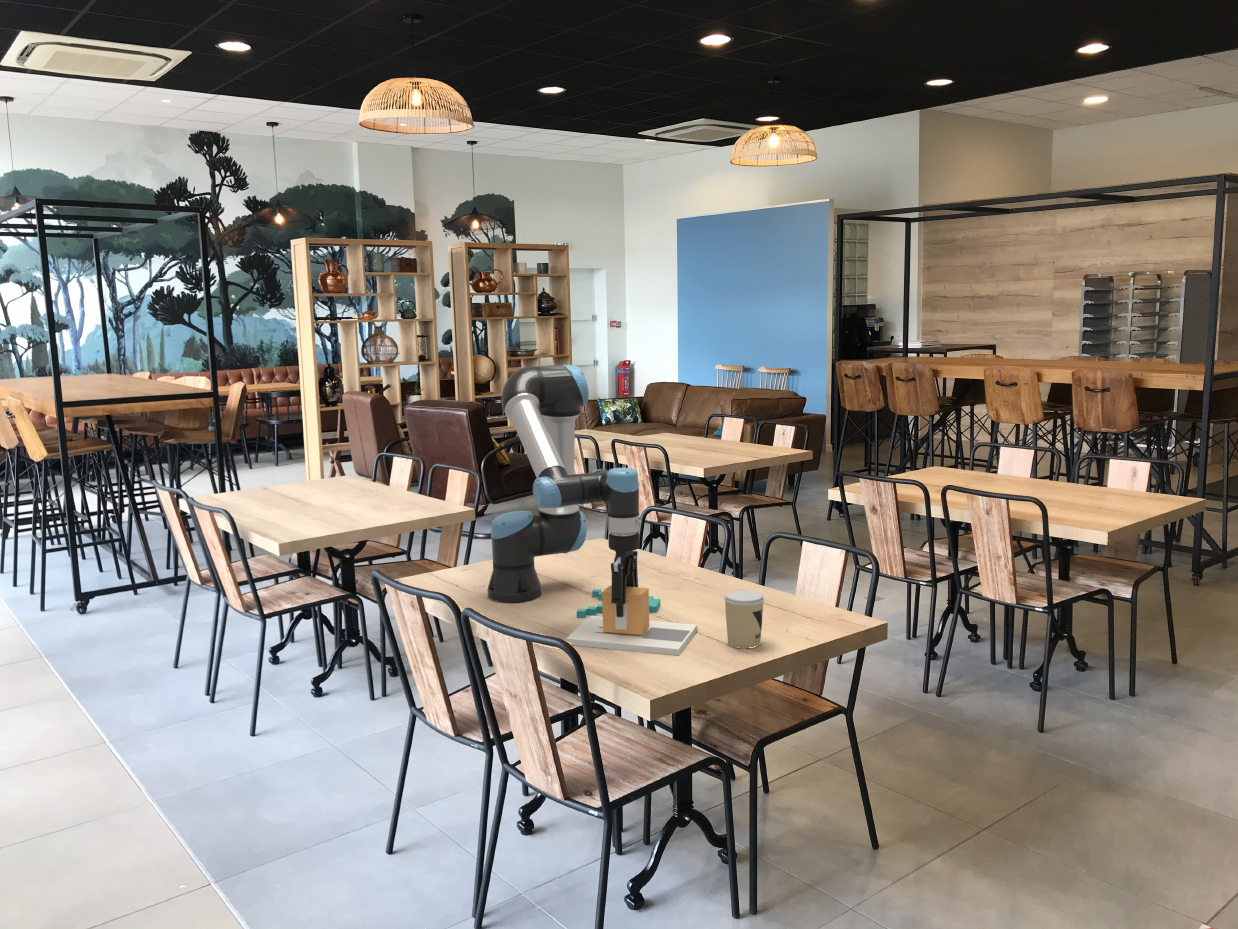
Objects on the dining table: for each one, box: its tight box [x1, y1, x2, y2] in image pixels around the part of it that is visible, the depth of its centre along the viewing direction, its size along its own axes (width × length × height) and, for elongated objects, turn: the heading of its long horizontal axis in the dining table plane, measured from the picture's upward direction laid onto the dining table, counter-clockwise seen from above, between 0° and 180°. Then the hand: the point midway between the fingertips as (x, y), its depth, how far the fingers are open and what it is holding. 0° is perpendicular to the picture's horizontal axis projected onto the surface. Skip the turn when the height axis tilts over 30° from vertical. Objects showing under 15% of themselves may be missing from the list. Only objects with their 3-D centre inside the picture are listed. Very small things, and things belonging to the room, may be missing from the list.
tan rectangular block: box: [601, 584, 650, 635], centre depth 238 cm, size 10×6×10 cm, turn 72°
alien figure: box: [576, 588, 661, 619], centre depth 262 cm, size 20×2×20 cm
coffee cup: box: [724, 589, 765, 649], centre depth 232 cm, size 9×9×12 cm
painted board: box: [565, 615, 698, 656], centre depth 238 cm, size 28×18×2 cm, turn 72°
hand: (625, 624), depth 238 cm, fingers closed on tan rectangular block, 6 cm apart
